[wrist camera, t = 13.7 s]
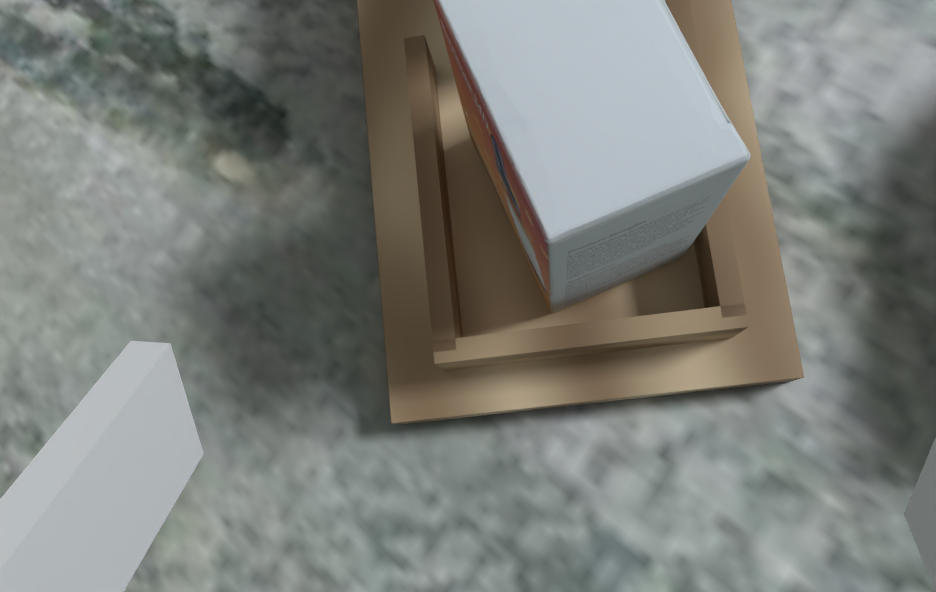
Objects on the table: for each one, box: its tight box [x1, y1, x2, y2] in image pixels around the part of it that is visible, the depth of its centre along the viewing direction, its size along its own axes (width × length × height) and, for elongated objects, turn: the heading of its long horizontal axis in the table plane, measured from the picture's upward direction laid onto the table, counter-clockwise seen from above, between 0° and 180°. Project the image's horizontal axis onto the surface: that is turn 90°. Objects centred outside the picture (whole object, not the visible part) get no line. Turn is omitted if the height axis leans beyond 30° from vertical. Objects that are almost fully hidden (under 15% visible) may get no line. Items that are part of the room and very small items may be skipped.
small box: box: [433, 0, 750, 312], centre depth 25 cm, size 8×6×10 cm
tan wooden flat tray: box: [357, 0, 804, 425], centre depth 31 cm, size 15×24×4 cm, turn 6°
